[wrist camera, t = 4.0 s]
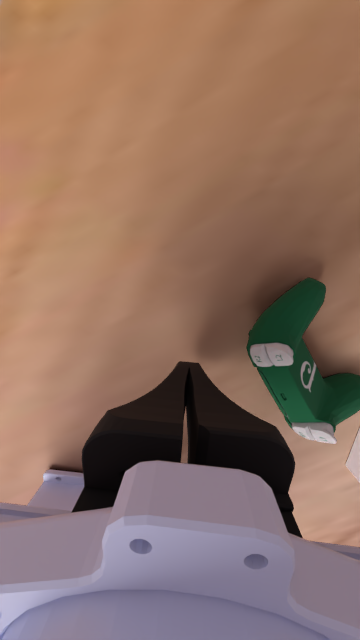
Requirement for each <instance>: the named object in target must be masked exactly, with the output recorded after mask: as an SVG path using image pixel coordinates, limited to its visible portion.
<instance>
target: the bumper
mask: <svg viewBox="0 0 360 640" xmlns="http://www.w3.org/2000/svg"><path fill="white" fill-rule="evenodd" d="M345 465H346V466H347V468H348V469H349V470H350V471H351V473H352V474H353V475H354V476H355V478H356V479H357V480H358V481H359V483H360V429H359V431H358V434H357V436H356V439H355V441H354V444H353V446H352V449H351V452H350V454H349V457H348V459H347V462H346V464H345Z"/></svg>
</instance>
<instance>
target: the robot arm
mask: <svg viewBox="0 0 360 640" xmlns="http://www.w3.org/2000/svg"><path fill="white" fill-rule="evenodd" d="M185 407H186V413H187V429H188V464H187V463H181V451H182V439H183V420H184V414H185ZM82 466H83V473H77V472H69V471H60V470H52V469H49V470H47V471H46V472H45V473H44V475H43V478H44V482H43V484H42V485H41V486H40V488H39V489H38V491H37V492H36V494H35V495H34V496H33V498H32V499H31V501H30V502H29V503H28V505H27V506H26V505H18V504H10V503H2V502H0V640H360V547H354V546H346V545H338V544H330V543H322V542H314V541H308V540H305V539H303V538H302V535H301V533H300V531H299V528H298V526H297V523H296V521H295V519H294V516H293V514H292V512H293V509H294V507H293V503H292V501H291V499H290V497H289V494H288V491H289V487H290V484H291V481H292V477H293V474H294V469H295V461H294V457H293V454H292V452H291V451H290V449H289V447H288V445H287V443H286V442H285V440H284V438H283V437H282V435H281V434H280V432H279V431H278V429H277V428H276V427H275V426H273V425H271V424H269V423H267V422H265V421H263V420H261V419H259V418H257V417H256V416H254V415H252V414H250V413H249V412H247V411H245V410H244V409H242V408H241V407H239V406H238V405H237V404H235V403H234V402H233V401H231V400H230V399H229V398H227V397H226V396H225V395H224V394H223V393H222V392H221V391H220V390H219V389H218V388H217V387H216V386H215V385H214V384H213V383H212V382H211V380H210V379H209V378H208V376H207V375H206V374H205V372H204V371H203V369H202V367H201V366H200V364H199V363H192V362H181V361H180V362H178V364H177V365H176V367H175V368H174V370H173V371H172V372H171V373H170V374H169V376H168V377H167V378H166V379H165V380H164V381H163V382H162V383H161V384H159V385H158V386H157V387H156V388H155V389H153V390H152V391H150V392H149V393H147V394H145V395H144V396H142V397H140V398H138V399H136V400H134V401H132V402H130V403H127V404H125V405H122V406H119V407H117V408H114V409H111V410H108V411H107V412H106V414H105V415H104V416H103V418H102V419H101V420H100V421H99V423H98V424H97V426H96V427H95V429H94V430H93V432H92V434H91V435H90V437H89V438H88V440H87V442H86V443H85V446H84V448H83V450H82ZM291 511H292V512H291Z"/></svg>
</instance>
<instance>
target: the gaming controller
mask: <svg viewBox="0 0 360 640" xmlns="http://www.w3.org/2000/svg"><path fill="white" fill-rule="evenodd" d="M325 293H326V286H325V285H324V284H323V283H321V282H319V281H317V280H315V279H312V278H307V279H305V280H303V281H301V282H300V283H298V284H297V285H296V286H294V287H293V288H291V289H290V290H289V291H287V292H286V293H285V294H283V295H282V296H281V297H279V298H278V299H277V300H276V301H275V302H274V303H273V304H272V305H271V306H270V307H269V308H267V309H266V310H265V311H264V312H263V313H262V315H261V316H260V317H259V319H258V320H257V322H256V323H255V325H254V326H253V328H252V330H250V332H249V340H248V344H247V351H248V355H249V357H250V359H251V361H252V363H253V365H254V367H257V370H258V372H259V374H260V376H261V377H262V379H263V381H264V383H265V385H266V387H267V388H268V390H269V392H270V393H271V395H272V397H273V399H274V400H275V402H276V404H277V405H278V407H279V409H280V410H281V412H282V413H283V414H284V417H285V420H286V422H287V423H288V424H289V426H290V427H291V428H292V429H293V430H294V431H295V432H296V433H297V434H299V435H300V436H302V437H304V438H306V439H310V440H313V441H314V440H316V441H318V442H325V443H332V444H336V442H337V440H336V438H335V437H334V433H335V430H336V425H337V424H339V423H340V422H342V421H343V420H345V419H347V418H348V417H350V416H352V415H353V414H355V413H356V412H358V411H359V410H360V376H359V375H355V374H351V373H343V374H336V375H333V376H330V377H327V378H324V379H323V378H322V376H321V374H320V372H319V370H318V368H317V366H316V364H315V362H314V360H313V358H312V356H311V354H310V352H309V350H308V349H307V347H306V345H305V343H304V341H303V339H302V335H303V333H304V332H305V330H306V329H307V327H308V326H309V324H310V323H311V321H312V320H313V318H314V317H315V315H316V314H317V312H318V311H319V309H320V307H321V306H322V304H323V302H324V298H325Z"/></svg>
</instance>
